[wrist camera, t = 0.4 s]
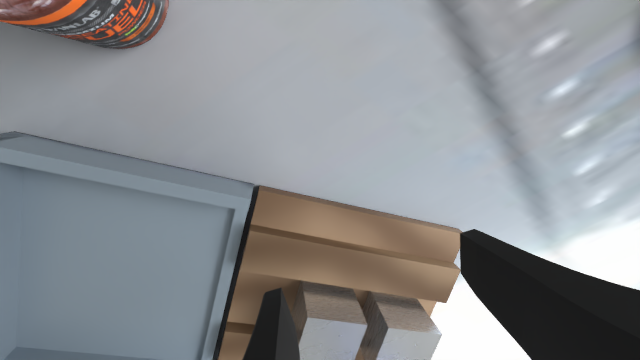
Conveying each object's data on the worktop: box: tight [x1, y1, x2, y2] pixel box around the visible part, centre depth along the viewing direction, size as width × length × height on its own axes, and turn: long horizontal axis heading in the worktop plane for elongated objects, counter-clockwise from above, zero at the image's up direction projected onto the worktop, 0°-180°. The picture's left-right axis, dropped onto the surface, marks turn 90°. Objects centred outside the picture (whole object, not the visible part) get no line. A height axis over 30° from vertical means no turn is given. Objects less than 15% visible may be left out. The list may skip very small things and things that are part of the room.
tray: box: [0, 132, 254, 360], centre depth 20 cm, size 16×14×3 cm
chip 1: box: [291, 280, 368, 360], centre depth 22 cm, size 4×4×4 cm
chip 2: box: [360, 291, 442, 360], centre depth 23 cm, size 4×4×4 cm
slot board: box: [217, 186, 463, 360], centre depth 24 cm, size 16×16×2 cm
